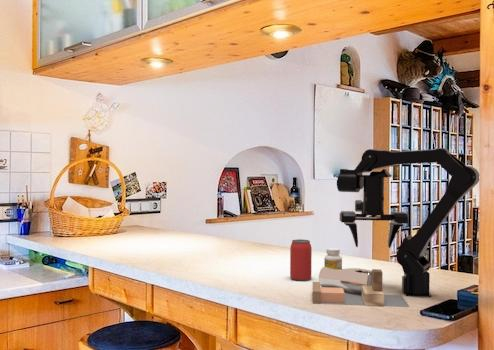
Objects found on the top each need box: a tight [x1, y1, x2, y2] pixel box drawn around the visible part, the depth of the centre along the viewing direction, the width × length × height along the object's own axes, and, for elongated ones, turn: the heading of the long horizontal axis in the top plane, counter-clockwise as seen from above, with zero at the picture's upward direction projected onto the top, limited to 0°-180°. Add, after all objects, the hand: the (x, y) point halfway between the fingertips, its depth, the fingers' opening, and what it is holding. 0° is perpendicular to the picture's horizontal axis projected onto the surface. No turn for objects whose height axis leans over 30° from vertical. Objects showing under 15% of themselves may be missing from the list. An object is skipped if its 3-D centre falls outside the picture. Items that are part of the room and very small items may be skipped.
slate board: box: [312, 281, 410, 308], centre depth 139 cm, size 24×12×3 cm, turn 83°
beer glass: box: [318, 266, 372, 294], centre depth 149 cm, size 7×7×15 cm
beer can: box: [289, 238, 312, 282], centre depth 165 cm, size 7×7×12 cm
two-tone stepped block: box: [362, 268, 385, 307], centre depth 137 cm, size 5×9×8 cm, turn 173°
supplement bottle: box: [323, 247, 343, 269], centre depth 164 cm, size 5×5×10 cm
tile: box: [320, 286, 345, 303], centre depth 139 cm, size 6×6×2 cm
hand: (372, 247), depth 152 cm, fingers open, 9 cm apart
